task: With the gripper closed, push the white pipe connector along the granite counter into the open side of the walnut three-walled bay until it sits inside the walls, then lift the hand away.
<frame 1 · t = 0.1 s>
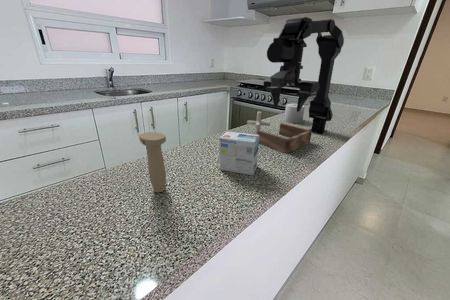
hand: (286, 109, 76), 15 cm above the countertop, tool pointing down, fingers open, 9 cm apart
walnut bay: (282, 142, 87), on the countertop
toilet tissue: (293, 120, 116), on the countertop
pipe connector: (257, 134, 96), on the countertop
handle: (159, 190, 55), on the countertop
light bulb box: (238, 168, 66), on the countertop
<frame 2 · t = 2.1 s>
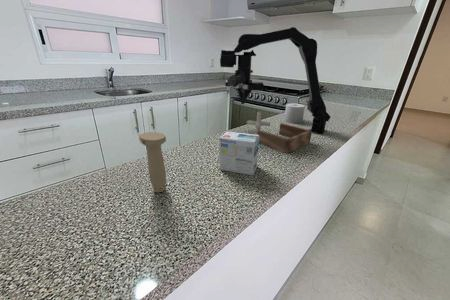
hand: (242, 103, 98), 12 cm above the countertop, tool pointing down, fingers closed
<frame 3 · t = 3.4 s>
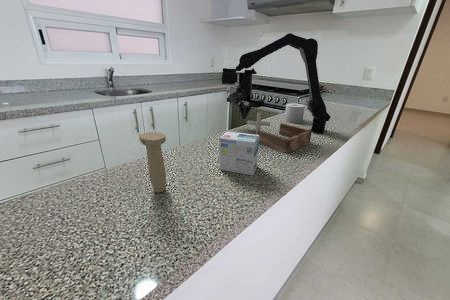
hand: (243, 119, 100), 5 cm above the countertop, tool pointing down, fingers closed
nothing on the countertop moved.
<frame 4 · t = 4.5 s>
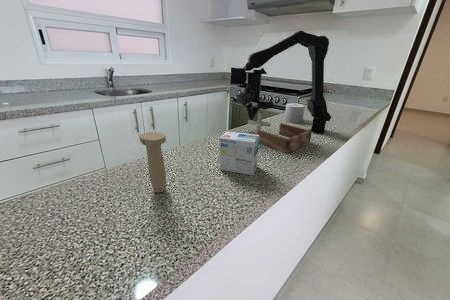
hand: (251, 120, 96), 5 cm above the countertop, tool pointing down, fingers closed
pipe connector: (257, 134, 96), on the countertop, touching gripper
everything else where it was.
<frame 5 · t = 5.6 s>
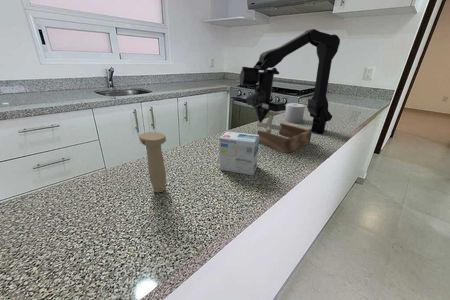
hand: (260, 122, 92), 6 cm above the countertop, tool pointing down, fingers closed
pipe connector: (266, 137, 92), on the countertop, touching gripper
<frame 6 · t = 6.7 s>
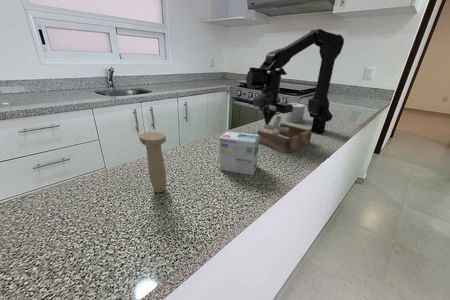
hand: (266, 124, 90), 6 cm above the countertop, tool pointing down, fingers closed
pipe connector: (273, 139, 89), on the countertop, touching gripper
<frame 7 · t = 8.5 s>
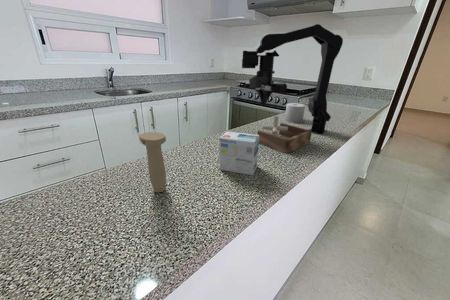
hand: (263, 105, 96), 12 cm above the countertop, tool pointing down, fingers closed
pipe connector: (273, 139, 89), on the countertop
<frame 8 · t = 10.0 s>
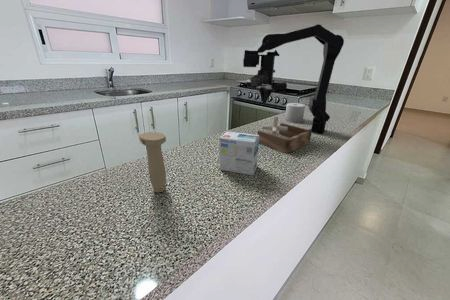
hand: (264, 103, 98), 12 cm above the countertop, tool pointing down, fingers closed
at the end: pipe connector inside the target area (4.2 cm from its centre), on the countertop; pipe connector moved 8.8 cm from its start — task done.
